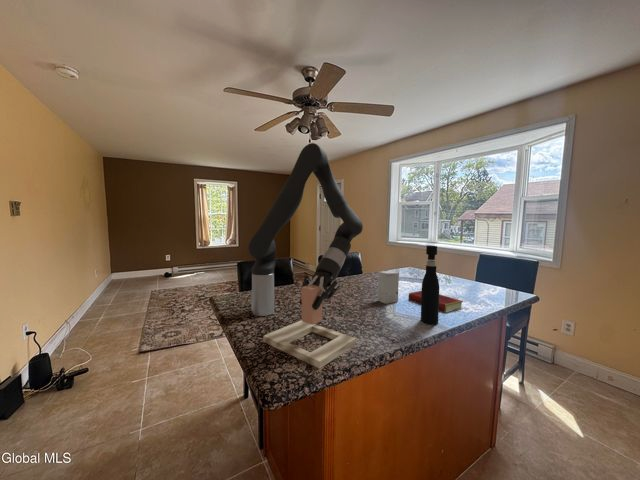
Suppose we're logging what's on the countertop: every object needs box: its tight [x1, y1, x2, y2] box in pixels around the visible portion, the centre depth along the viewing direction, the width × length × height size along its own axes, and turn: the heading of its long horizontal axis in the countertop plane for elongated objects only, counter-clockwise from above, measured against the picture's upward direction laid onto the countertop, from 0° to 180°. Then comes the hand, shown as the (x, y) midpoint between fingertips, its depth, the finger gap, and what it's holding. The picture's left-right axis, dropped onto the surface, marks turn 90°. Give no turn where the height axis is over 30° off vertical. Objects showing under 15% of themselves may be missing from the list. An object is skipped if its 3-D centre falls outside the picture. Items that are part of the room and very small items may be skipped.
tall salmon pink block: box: [300, 285, 323, 325], centre depth 82 cm, size 5×5×11 cm
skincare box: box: [377, 270, 400, 305], centre depth 127 cm, size 8×6×15 cm
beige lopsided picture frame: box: [263, 319, 357, 370], centre depth 83 cm, size 24×18×2 cm
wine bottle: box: [420, 245, 440, 326], centre depth 101 cm, size 6×6×30 cm
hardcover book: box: [408, 290, 464, 313], centre depth 124 cm, size 12×21×4 cm, turn 28°
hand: (307, 306), depth 80 cm, fingers closed on tall salmon pink block, 4 cm apart
